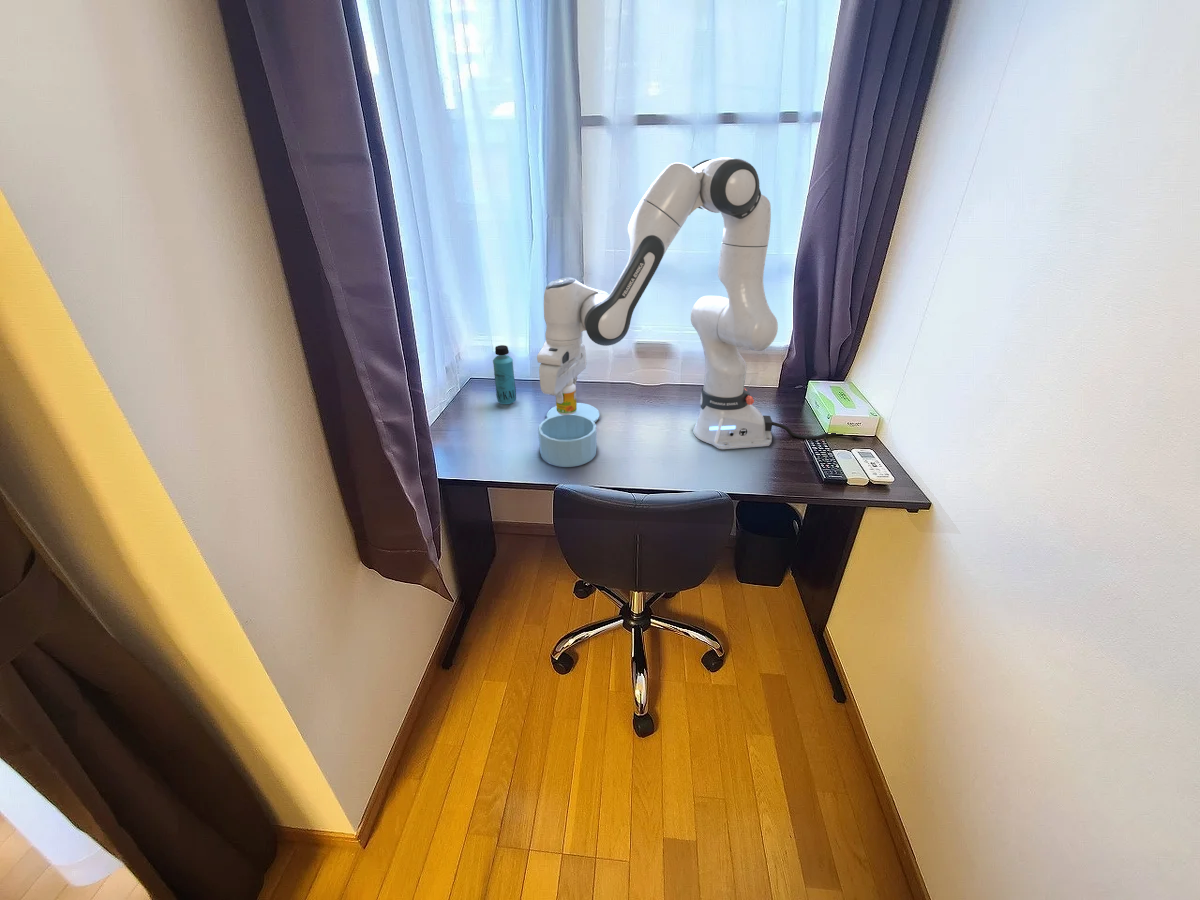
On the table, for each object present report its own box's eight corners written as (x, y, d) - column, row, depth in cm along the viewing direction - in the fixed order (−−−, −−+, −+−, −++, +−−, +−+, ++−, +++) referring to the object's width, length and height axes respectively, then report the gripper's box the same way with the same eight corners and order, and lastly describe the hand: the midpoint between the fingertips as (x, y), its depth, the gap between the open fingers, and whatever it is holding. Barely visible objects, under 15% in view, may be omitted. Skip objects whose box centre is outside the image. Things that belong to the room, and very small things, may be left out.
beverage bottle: (499, 399, 170) (492, 342, 160) (519, 400, 170) (513, 343, 160) (495, 408, 165) (488, 350, 154) (515, 408, 165) (509, 350, 154)
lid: (601, 406, 166) (600, 391, 163) (597, 430, 152) (597, 414, 149) (551, 405, 167) (550, 389, 164) (542, 429, 153) (541, 413, 150)
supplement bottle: (554, 414, 133) (552, 380, 128) (559, 405, 137) (557, 372, 132) (574, 416, 132) (573, 382, 127) (578, 407, 137) (577, 373, 132)
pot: (598, 438, 147) (597, 414, 143) (594, 467, 134) (593, 442, 130) (545, 437, 148) (543, 413, 144) (536, 466, 135) (533, 440, 131)
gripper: (569, 332, 135) (571, 380, 142) (533, 358, 118) (537, 411, 126) (591, 335, 133) (592, 383, 140) (557, 362, 116) (560, 415, 124)
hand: (566, 397), depth 133 cm, fingers closed on supplement bottle, 5 cm apart
